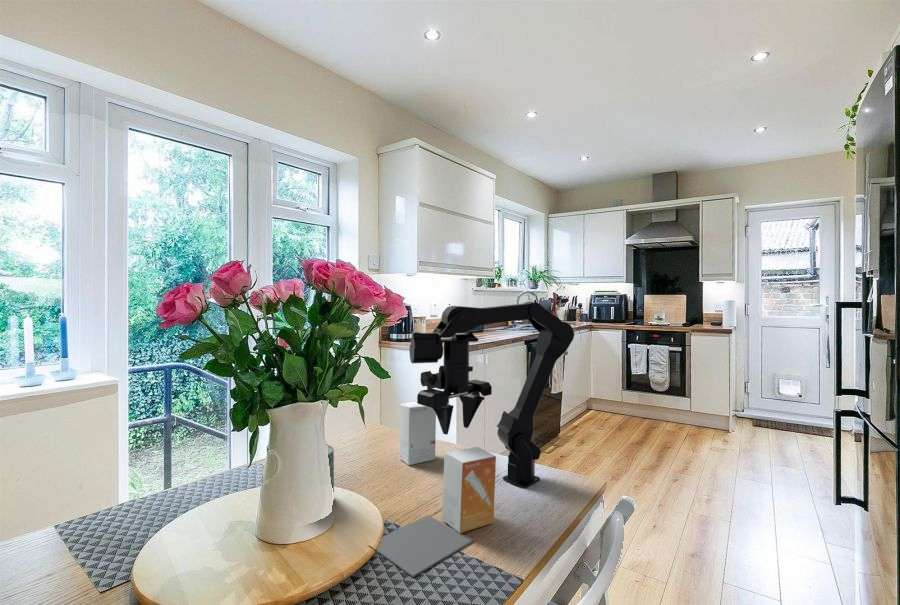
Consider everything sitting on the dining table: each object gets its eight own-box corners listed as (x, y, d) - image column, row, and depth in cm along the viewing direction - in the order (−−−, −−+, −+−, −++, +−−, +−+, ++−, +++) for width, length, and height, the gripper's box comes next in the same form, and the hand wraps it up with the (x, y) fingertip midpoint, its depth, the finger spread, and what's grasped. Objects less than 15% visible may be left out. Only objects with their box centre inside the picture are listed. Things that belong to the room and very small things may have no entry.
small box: (460, 534, 79) (462, 462, 79) (441, 519, 84) (443, 452, 84) (494, 523, 83) (496, 455, 83) (474, 509, 88) (476, 445, 88)
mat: (427, 516, 86) (427, 515, 86) (473, 541, 77) (473, 539, 77) (368, 545, 76) (368, 543, 76) (412, 577, 67) (412, 575, 67)
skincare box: (408, 466, 111) (408, 408, 110) (398, 458, 116) (398, 403, 115) (436, 459, 115) (437, 403, 115) (425, 452, 120) (425, 399, 120)
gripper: (459, 354, 110) (458, 415, 110) (401, 362, 97) (400, 431, 97) (493, 359, 102) (492, 425, 103) (435, 368, 89) (435, 444, 89)
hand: (455, 430), depth 98 cm, fingers open, 6 cm apart
